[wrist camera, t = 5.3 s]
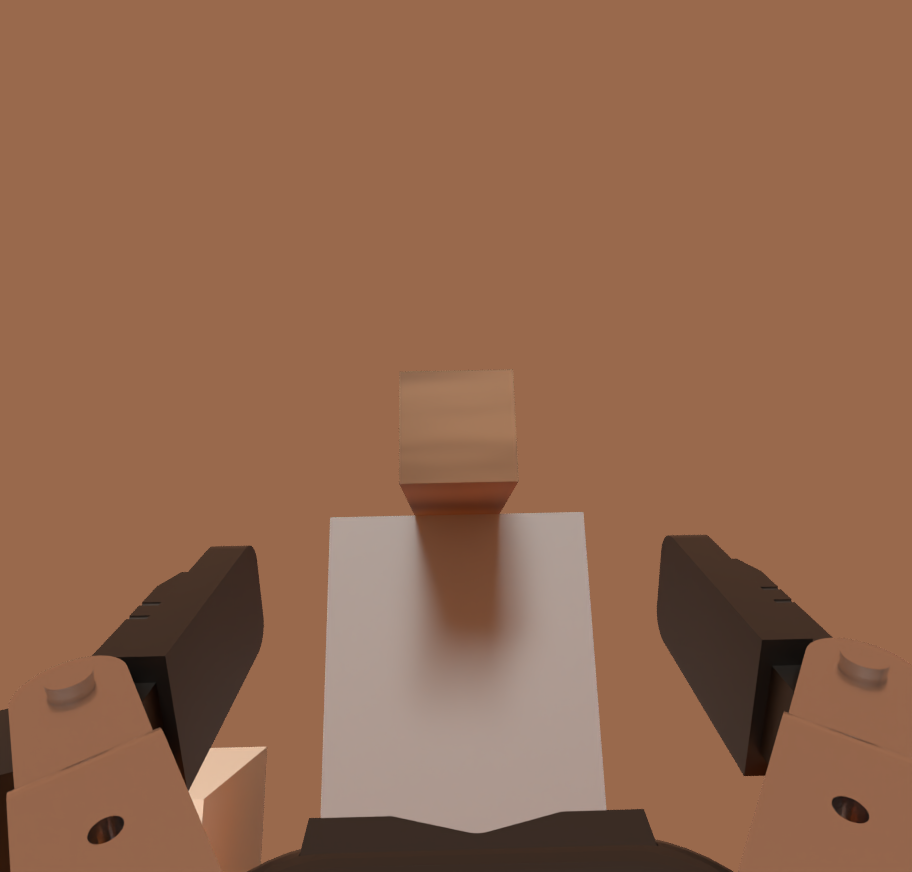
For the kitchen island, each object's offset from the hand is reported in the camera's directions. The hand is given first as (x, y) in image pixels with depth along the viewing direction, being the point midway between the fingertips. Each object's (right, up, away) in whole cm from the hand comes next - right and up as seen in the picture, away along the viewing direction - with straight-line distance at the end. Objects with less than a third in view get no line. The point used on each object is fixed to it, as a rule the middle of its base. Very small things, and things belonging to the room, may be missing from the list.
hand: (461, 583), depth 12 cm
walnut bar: (0, -2, +20) cm, 20 cm away
